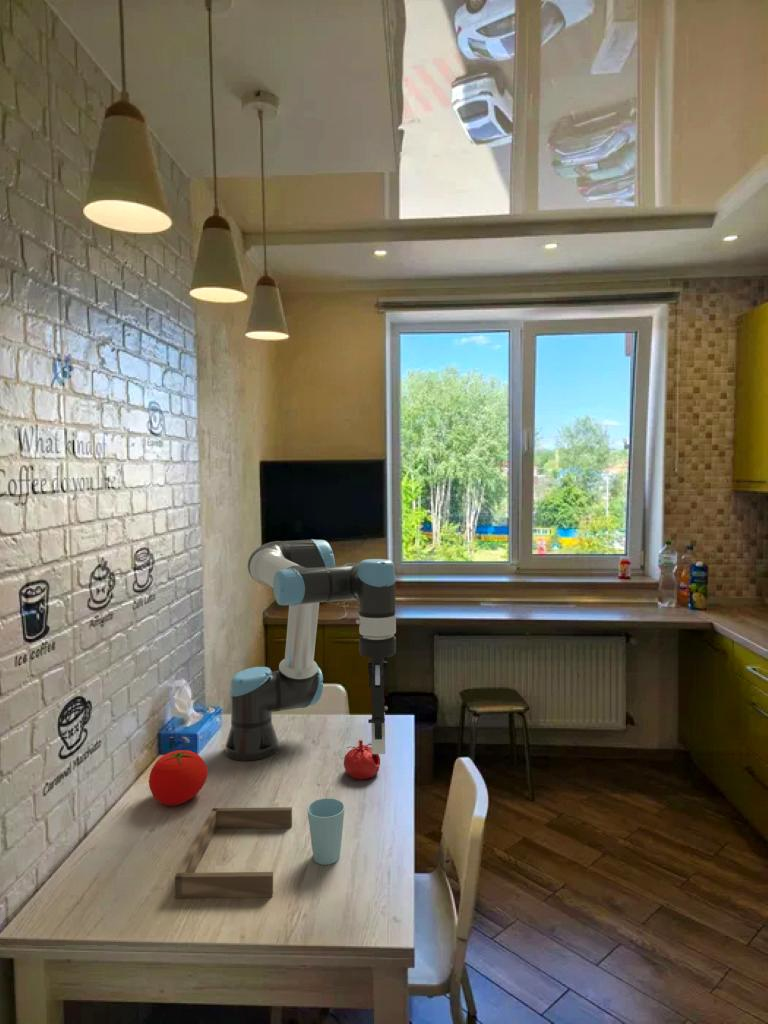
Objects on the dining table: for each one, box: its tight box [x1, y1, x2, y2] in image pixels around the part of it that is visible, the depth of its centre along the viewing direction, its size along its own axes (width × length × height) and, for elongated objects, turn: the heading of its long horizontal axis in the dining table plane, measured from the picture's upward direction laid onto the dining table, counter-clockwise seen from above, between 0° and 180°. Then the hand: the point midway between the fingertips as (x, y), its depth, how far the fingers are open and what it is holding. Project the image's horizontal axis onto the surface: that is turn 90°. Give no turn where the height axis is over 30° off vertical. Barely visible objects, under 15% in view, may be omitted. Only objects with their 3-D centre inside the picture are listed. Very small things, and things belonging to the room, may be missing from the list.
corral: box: [174, 806, 293, 899], centre depth 122 cm, size 24×18×4 cm
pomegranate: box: [343, 739, 381, 781], centre depth 157 cm, size 10×10×9 cm
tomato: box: [148, 749, 209, 807], centre depth 145 cm, size 13×14×12 cm
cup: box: [306, 797, 346, 866], centre depth 122 cm, size 8×8×10 cm
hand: (378, 747), depth 121 cm, fingers open, 4 cm apart
